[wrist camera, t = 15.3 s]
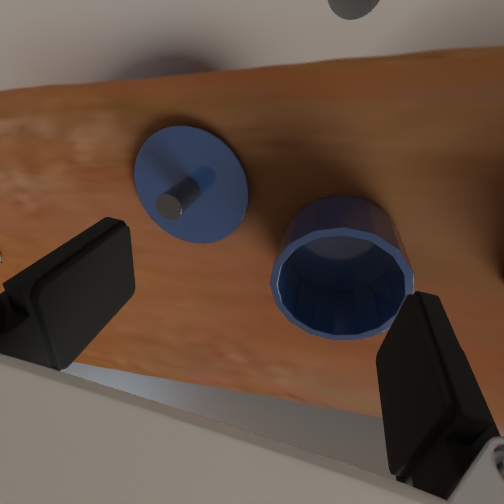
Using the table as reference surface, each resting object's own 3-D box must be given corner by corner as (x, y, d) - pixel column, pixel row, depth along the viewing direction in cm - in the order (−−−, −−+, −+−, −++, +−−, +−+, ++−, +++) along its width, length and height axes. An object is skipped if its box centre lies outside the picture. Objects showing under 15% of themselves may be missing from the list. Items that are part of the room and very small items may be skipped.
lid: (134, 113, 36) (96, 122, 30) (258, 136, 34) (242, 150, 28) (143, 226, 43) (113, 249, 38) (243, 250, 41) (228, 278, 36)
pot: (294, 184, 35) (283, 213, 28) (419, 209, 33) (440, 248, 26) (275, 278, 43) (262, 321, 35) (376, 304, 41) (383, 354, 34)
